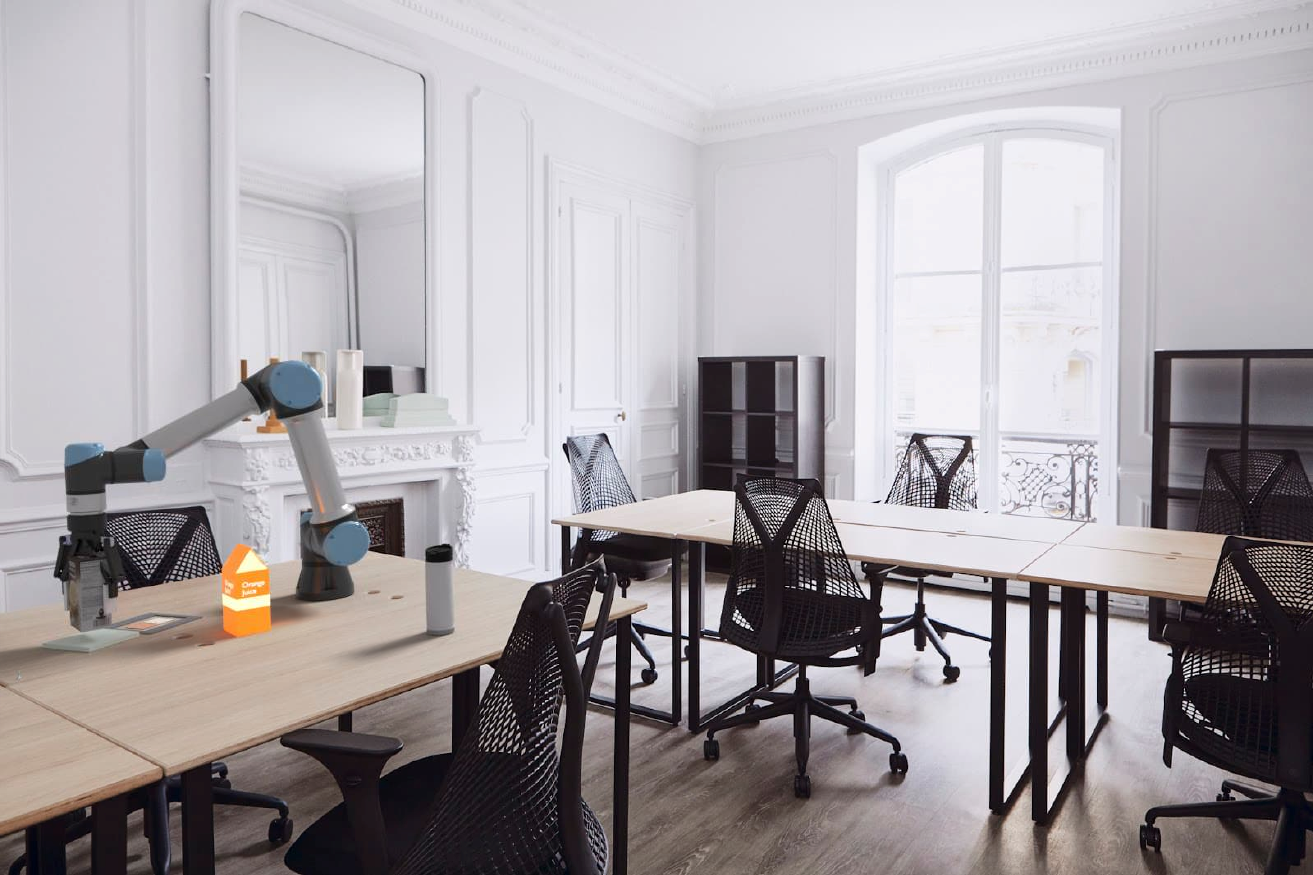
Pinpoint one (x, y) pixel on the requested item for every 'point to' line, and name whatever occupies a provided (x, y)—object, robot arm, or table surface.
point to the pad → (91, 640)
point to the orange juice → (245, 593)
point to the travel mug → (439, 589)
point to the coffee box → (87, 593)
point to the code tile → (153, 622)
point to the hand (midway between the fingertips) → (90, 611)
